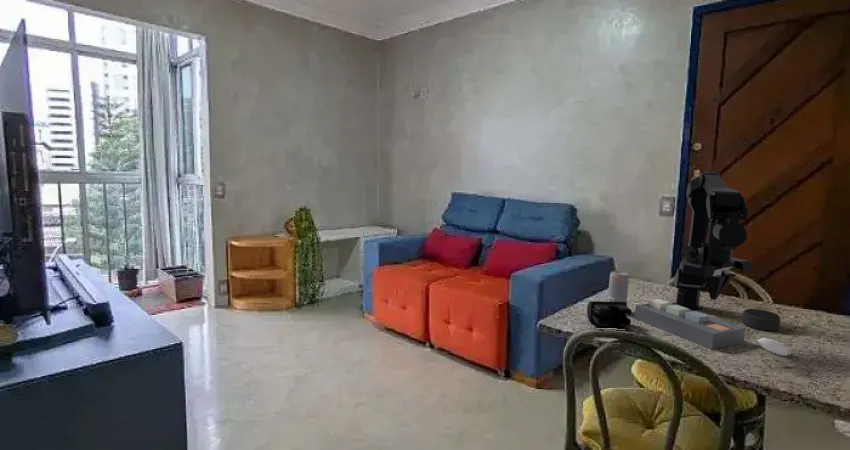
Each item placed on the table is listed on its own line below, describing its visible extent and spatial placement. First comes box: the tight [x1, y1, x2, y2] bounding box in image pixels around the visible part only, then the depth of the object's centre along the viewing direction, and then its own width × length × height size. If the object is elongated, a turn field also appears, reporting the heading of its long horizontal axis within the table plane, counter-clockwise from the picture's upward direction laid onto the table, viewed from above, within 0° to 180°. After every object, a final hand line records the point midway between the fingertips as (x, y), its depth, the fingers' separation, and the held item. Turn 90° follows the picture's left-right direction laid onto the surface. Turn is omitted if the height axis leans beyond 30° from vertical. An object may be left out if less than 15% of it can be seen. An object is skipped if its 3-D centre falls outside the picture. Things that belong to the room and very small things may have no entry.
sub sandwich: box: [756, 337, 792, 357], centre depth 118 cm, size 3×8×3 cm, turn 13°
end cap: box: [586, 300, 633, 331], centre depth 133 cm, size 10×7×7 cm
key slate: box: [685, 310, 710, 324], centre depth 128 cm, size 4×4×2 cm
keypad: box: [634, 302, 746, 350], centre depth 131 cm, size 12×24×4 cm, turn 23°
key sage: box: [666, 305, 689, 316], centre depth 134 cm, size 4×4×2 cm
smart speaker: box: [741, 308, 781, 332], centre depth 136 cm, size 9×9×4 cm
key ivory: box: [648, 298, 671, 310], centre depth 139 cm, size 4×4×2 cm
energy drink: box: [607, 270, 630, 303], centre depth 145 cm, size 5×5×12 cm
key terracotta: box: [706, 324, 731, 331], centre depth 123 cm, size 4×4×2 cm
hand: (713, 299), depth 124 cm, fingers closed
